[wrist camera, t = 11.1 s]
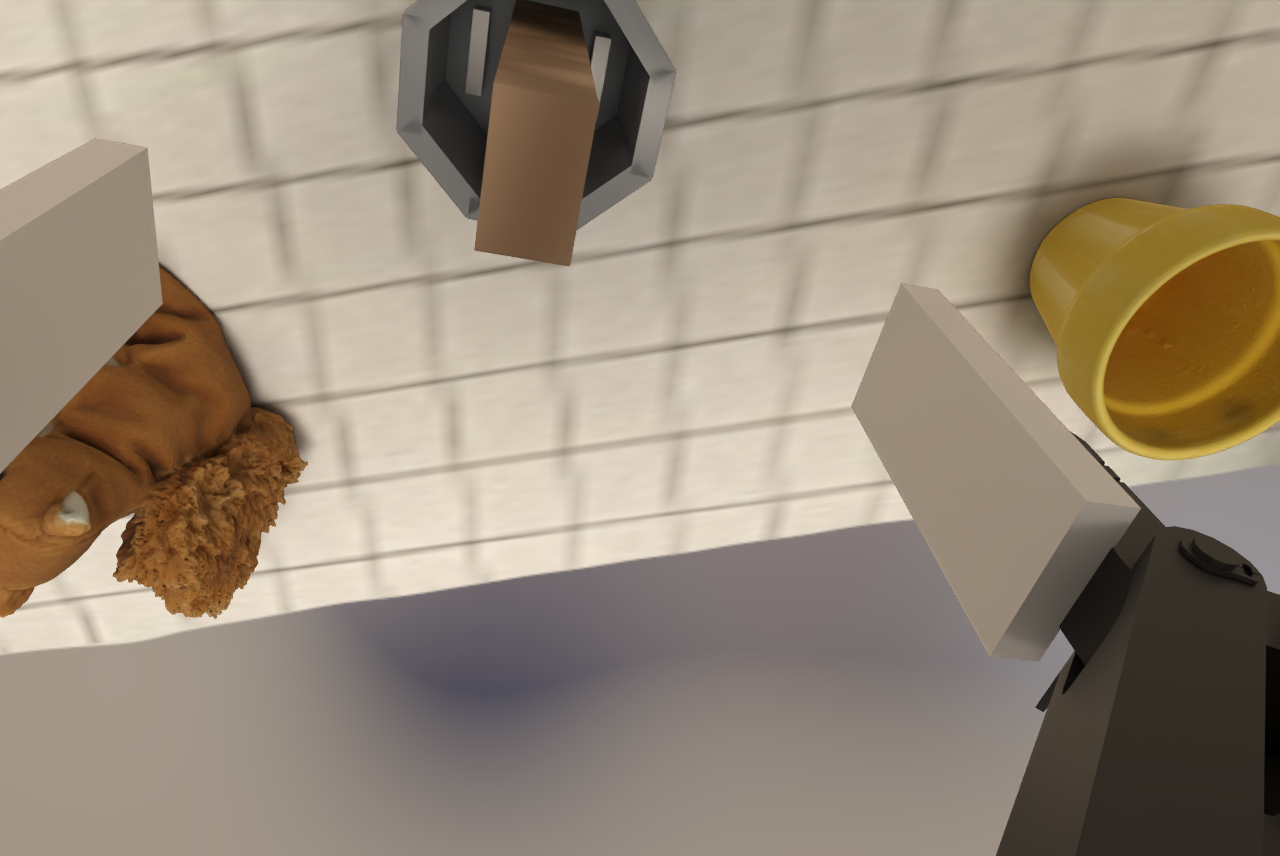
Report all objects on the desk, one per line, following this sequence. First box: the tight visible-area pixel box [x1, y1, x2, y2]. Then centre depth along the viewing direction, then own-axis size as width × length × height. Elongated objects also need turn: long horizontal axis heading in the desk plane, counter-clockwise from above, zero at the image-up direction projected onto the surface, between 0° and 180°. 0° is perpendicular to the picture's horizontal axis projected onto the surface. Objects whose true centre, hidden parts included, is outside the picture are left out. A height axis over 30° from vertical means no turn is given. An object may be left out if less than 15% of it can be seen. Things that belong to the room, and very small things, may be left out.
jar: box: [396, 0, 676, 230], centre depth 30 cm, size 9×9×8 cm
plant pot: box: [1030, 198, 1280, 460], centre depth 37 cm, size 10×10×10 cm
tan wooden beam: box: [475, 0, 599, 266], centre depth 27 cm, size 2×4×16 cm, turn 167°
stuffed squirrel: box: [0, 267, 308, 619], centre depth 35 cm, size 10×14×13 cm
